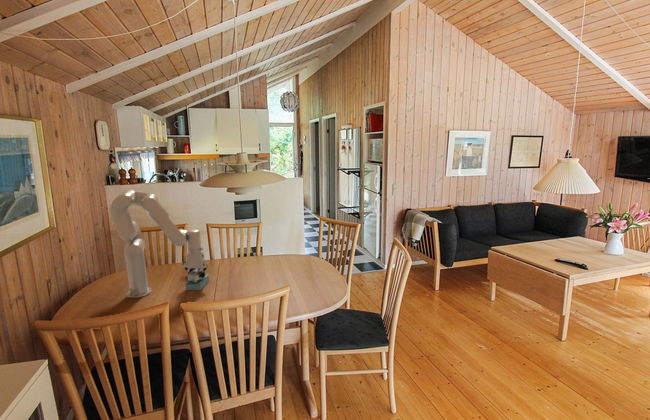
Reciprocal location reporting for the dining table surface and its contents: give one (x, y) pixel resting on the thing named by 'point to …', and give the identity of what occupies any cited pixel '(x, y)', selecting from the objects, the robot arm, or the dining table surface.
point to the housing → (195, 275)
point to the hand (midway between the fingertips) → (196, 277)
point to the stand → (197, 284)
